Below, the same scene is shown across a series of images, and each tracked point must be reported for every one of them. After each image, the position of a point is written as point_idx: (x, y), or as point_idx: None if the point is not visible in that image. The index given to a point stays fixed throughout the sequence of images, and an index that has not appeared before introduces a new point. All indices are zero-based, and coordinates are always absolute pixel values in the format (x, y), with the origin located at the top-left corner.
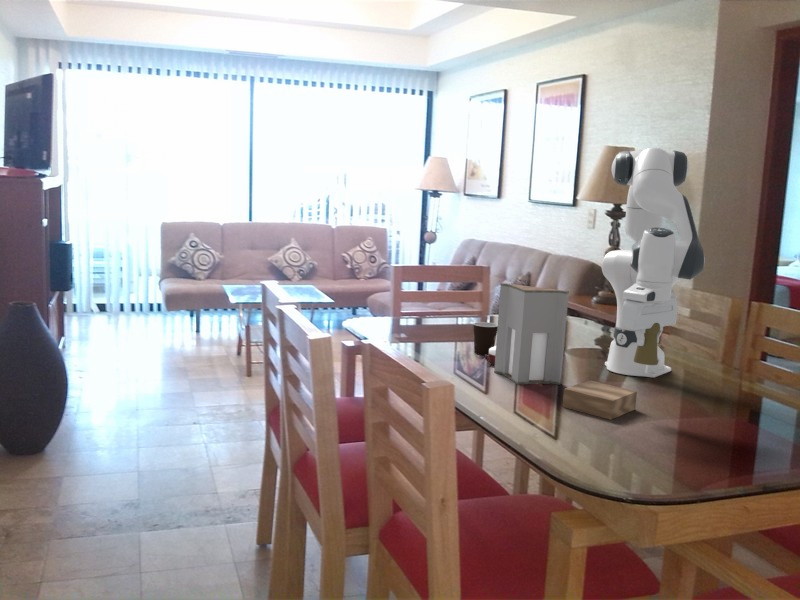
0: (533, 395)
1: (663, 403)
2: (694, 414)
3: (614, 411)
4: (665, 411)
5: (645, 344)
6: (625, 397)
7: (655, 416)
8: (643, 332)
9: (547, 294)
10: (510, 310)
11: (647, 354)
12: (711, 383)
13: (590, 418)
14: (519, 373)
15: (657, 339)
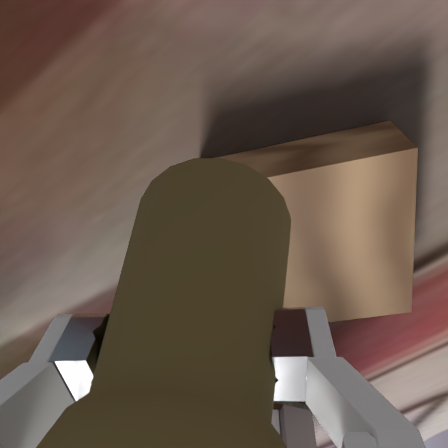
0: (360, 351)
1: (39, 164)
2: (5, 11)
3: (373, 134)
4: (102, 97)
5: (274, 311)
6: (292, 169)
7: (193, 70)
8: (389, 444)
9: None
10: None
11: (266, 231)
12: None
13: (435, 162)
14: (311, 431)
15: (68, 340)
